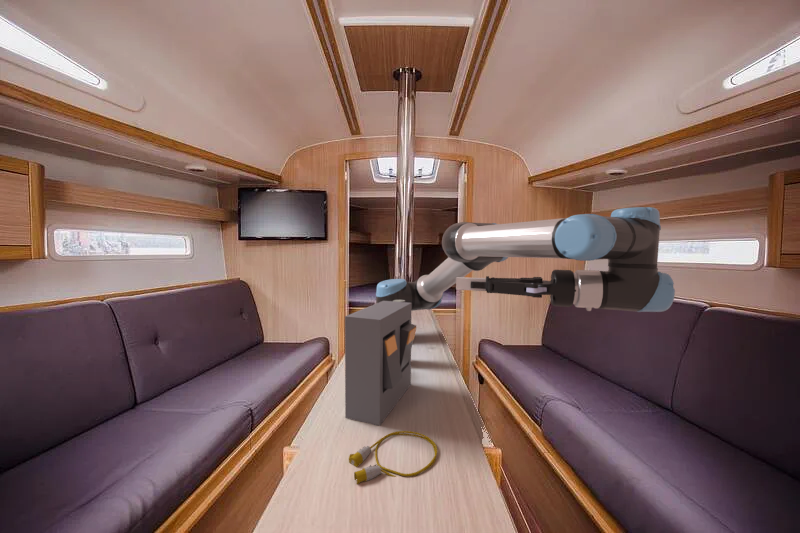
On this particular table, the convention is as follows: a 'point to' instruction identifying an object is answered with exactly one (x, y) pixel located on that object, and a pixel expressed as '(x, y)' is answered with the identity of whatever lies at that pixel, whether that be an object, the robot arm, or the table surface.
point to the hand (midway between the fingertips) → (456, 283)
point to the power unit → (373, 360)
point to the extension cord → (376, 470)
